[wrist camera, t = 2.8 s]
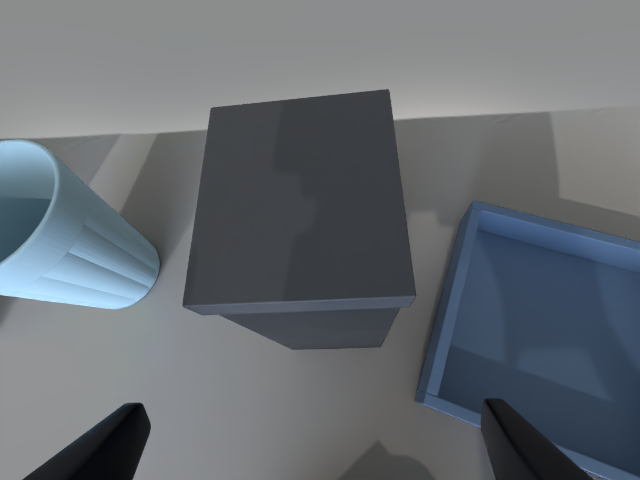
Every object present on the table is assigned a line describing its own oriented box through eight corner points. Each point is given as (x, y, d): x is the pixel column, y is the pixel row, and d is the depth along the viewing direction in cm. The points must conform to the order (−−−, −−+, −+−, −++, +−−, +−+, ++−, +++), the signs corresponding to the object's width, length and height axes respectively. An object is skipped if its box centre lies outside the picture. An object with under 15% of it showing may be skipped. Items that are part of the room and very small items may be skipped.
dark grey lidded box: (383, 349, 21) (416, 297, 8) (289, 352, 21) (180, 307, 9) (374, 244, 24) (388, 80, 11) (291, 249, 24) (211, 98, 11)
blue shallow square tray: (660, 500, 17) (718, 524, 14) (414, 401, 20) (422, 404, 17) (665, 275, 21) (712, 259, 18) (460, 221, 24) (473, 199, 21)
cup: (156, 332, 23) (8, 295, 13) (59, 319, 24) (-139, 277, 15) (187, 230, 26) (83, 141, 16) (99, 224, 27) (-45, 137, 18)
